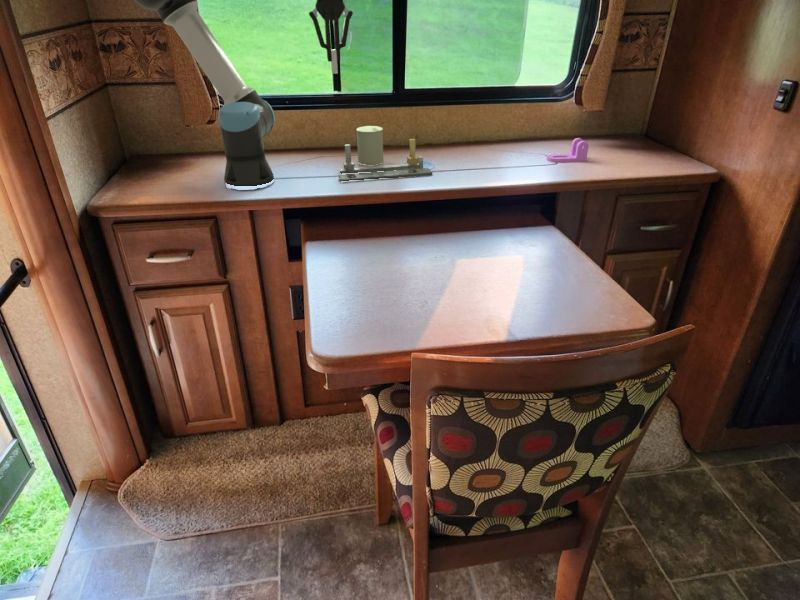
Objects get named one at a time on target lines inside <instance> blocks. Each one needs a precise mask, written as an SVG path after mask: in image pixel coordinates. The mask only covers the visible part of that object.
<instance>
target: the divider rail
mask: <svg viewBox="0 0 800 600" xmlns="http://www.w3.org/2000/svg"><path fill="white" fill-rule="evenodd" d="M344 153H345V162H343V168H339V174H340V173H341V174H342V173H358V172H377V171H394V170H409V169H421V168H424V157H423V156H422V155H416V157H417V158H418V164H417V165H409V164H408V163H400V164H399V163H398V164H388V165H376V166H364V167H363V166H362V167H360V166H359V167H355V164H354V161H352V150H351V144H350V143H348V144H347V143H346V144H345V143H344Z"/></svg>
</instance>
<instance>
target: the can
mask: <svg viewBox="0 0 800 600" xmlns="http://www.w3.org/2000/svg"><path fill="white" fill-rule="evenodd" d="M383 131H384V129H383V127H382V126H379V125H378V126H377V125H364V126H359V127H357V128H356V131H355V132H356V144H357V145H356V147H357V163H358V162H359V163H361V164H366V165H376V164H380V163H383V162H385V161H384V140H383V139H384V138H383V137H384V136H383V135H384V133H383ZM383 164H384V163H383ZM380 165H381V164H380ZM376 166H377V165H376Z"/></svg>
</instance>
